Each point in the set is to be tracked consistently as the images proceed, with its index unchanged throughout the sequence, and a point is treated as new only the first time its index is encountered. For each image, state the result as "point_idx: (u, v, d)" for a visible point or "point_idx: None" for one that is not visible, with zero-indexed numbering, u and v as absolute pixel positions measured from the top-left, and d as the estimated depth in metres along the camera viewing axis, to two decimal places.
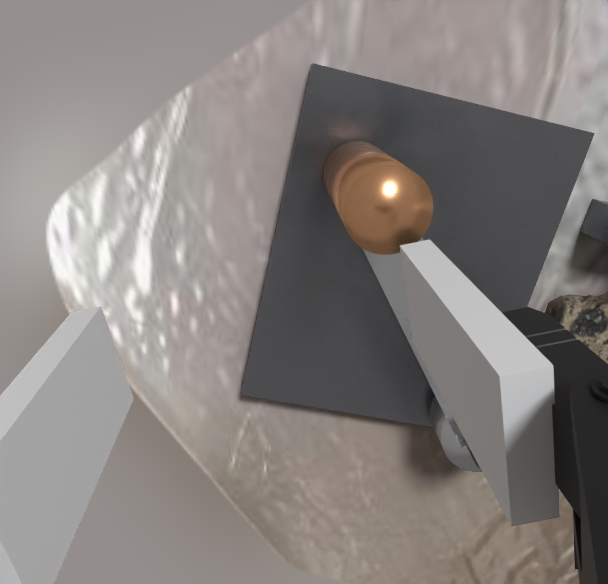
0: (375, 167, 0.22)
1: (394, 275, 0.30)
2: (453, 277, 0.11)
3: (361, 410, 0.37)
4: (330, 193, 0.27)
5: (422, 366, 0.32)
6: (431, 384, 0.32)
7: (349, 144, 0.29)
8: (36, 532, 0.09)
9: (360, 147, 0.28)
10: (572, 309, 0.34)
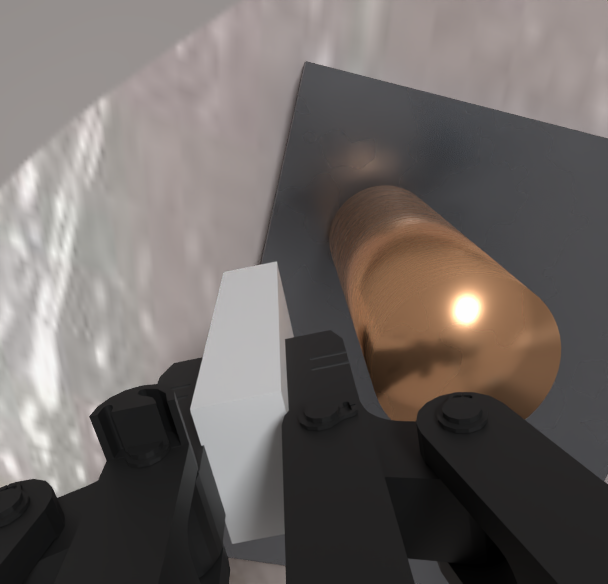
0: (444, 277, 0.10)
1: None
2: (267, 301, 0.12)
3: None
4: (341, 283, 0.16)
5: None
6: None
7: (373, 192, 0.18)
8: None
9: (395, 203, 0.16)
10: None
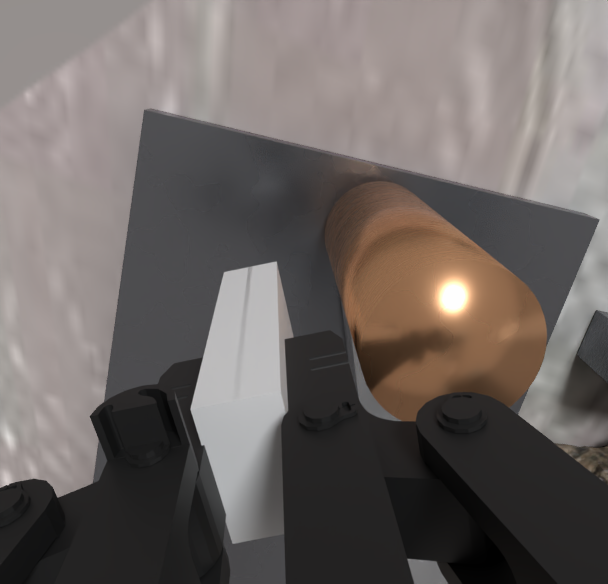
0: (461, 258, 0.10)
1: (387, 411, 0.18)
2: (267, 301, 0.12)
3: None
4: (335, 256, 0.16)
5: None
6: None
7: (385, 185, 0.18)
8: None
9: (408, 198, 0.16)
10: None
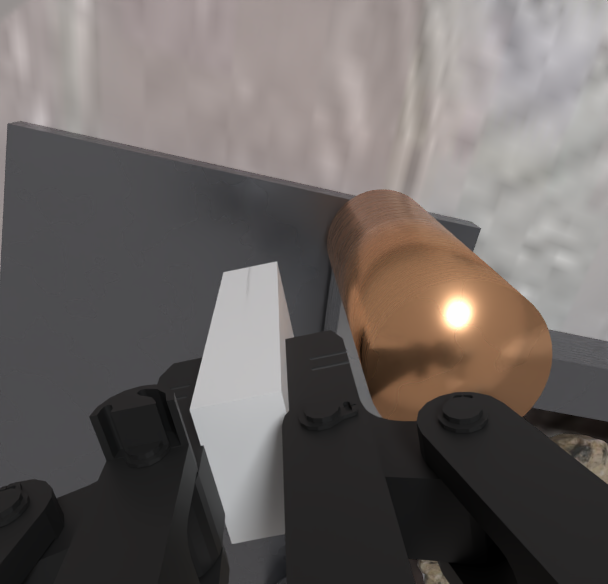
0: (491, 281, 0.10)
1: None
2: (267, 301, 0.12)
3: None
4: (344, 253, 0.16)
5: None
6: None
7: (402, 196, 0.18)
8: None
9: (425, 213, 0.16)
10: None
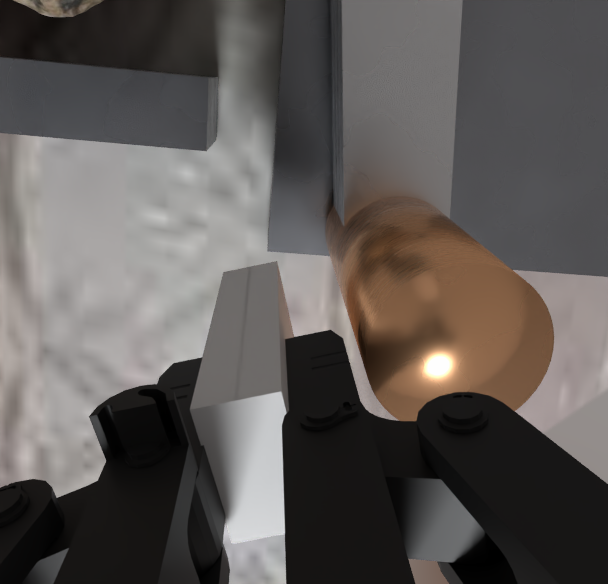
0: None
1: (425, 67, 0.14)
2: (268, 301, 0.12)
3: None
4: None
5: None
6: None
7: None
8: None
9: None
10: None
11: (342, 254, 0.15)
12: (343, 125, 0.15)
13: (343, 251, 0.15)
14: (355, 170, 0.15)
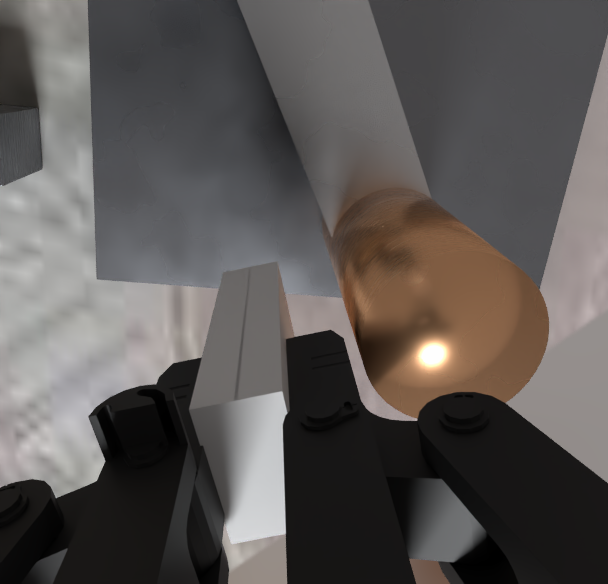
0: None
1: (352, 65, 0.14)
2: (268, 301, 0.12)
3: None
4: None
5: None
6: None
7: None
8: None
9: None
10: None
11: (335, 267, 0.15)
12: (296, 146, 0.15)
13: (335, 264, 0.15)
14: (322, 183, 0.16)
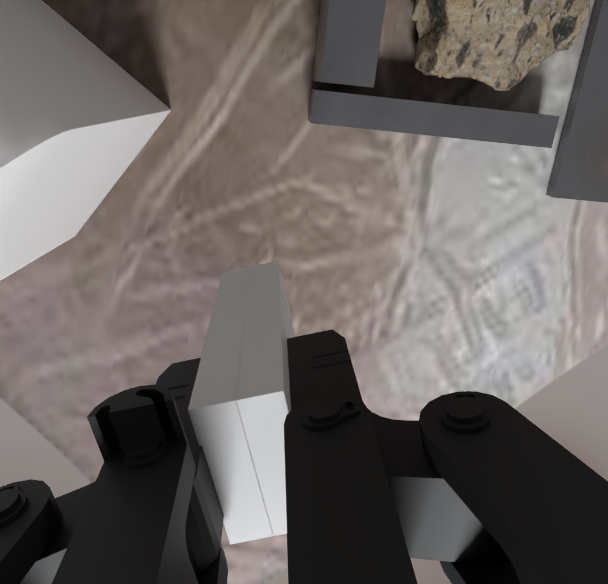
0: None
1: None
2: (269, 301, 0.12)
3: None
4: None
5: None
6: None
7: None
8: None
9: None
10: (570, 41, 0.36)
11: None
12: None
13: None
14: None
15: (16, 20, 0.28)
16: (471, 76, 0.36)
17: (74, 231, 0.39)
